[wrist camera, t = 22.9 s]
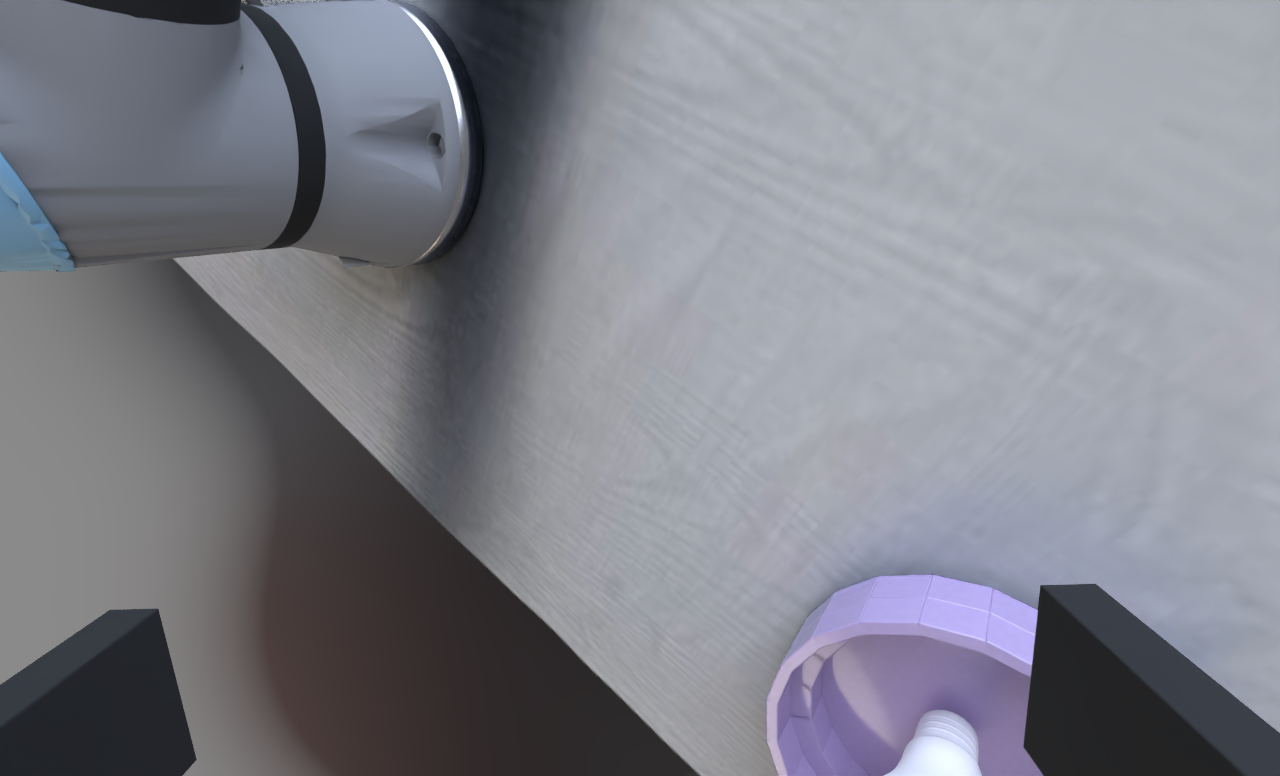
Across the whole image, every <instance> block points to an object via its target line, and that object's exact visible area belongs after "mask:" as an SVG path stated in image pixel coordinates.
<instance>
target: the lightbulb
mask: <svg viewBox="0 0 1280 776" xmlns="http://www.w3.org/2000/svg"><path fill="white" fill-rule="evenodd" d="M978 744H979V742H978V737H977V734H976V732H975V730H974V728H973V727H972V726H971V725H970V724H969V723H968V722H967V721H966V720H965V719H964V718H962V717H961V716H959V715H957V714H955V713H953V712H950V711H947V710H932V711H929V712H927V713H925V714H924V715H923V716H922V717H921V719H920V721H919V723H918V726H917V729H916V731H915V735H914V737H913V739H912V740H911V741H910V742H909V743H908V744H907V746H906V747H905V750H904V752H903V755H902V758H901V760H900V761H899V763H898V765H897V766H896V768H895V769H894V770H892V771H891V772H890V773H888V774H886V775H884V776H982V774H981V771H980V768H979V766H978V760H979V758H978V754H979V749H978Z"/></svg>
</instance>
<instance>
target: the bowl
mask: <svg viewBox="0 0 1280 776" xmlns="http://www.w3.org/2000/svg"><path fill="white" fill-rule="evenodd" d="M1037 614H1038V610H1037V609H1035V608H1033V607H1030V606H1028V605H1026V604H1024V603H1022V602H1020V601H1018V600H1016V599H1014V598H1012V597H1010V596H1008V595H1006V594H1004V593H1002V592H1000V591H998V590H996V589H992V588H990V587H986V586H982V585H977V584H973V583H968V582H964V581H959V580H955V579H951V578H946V577H942V576H937V575H932V574H925V575H897V576H879V577H878V576H877V577H874V578H872V579H869V580H866V581H863V582H860V583H858V584H855V585H852V586H849V587H847V588H844V589H841V590H838V591H836V592H835V593H833V594H832V595H831V596H830V597H829V598H828V599H827V600H826V601H825V602H823V603H822V604H821V605H820V606H819V607H818V608H817V609H816V610H814V611H813V612H812V613H811V614H810V615H809V616H808V617H807V618H806V620H805V621H804V623H803V625H802V627H801V629H800V630H799V632H798V634H797V636H796V638H795V639H794V641H793V643H792V645H791V647H790V648H789V650H788V652H787V654H786V656H785V657H784V659H783V661H782V663H781V665H780V667H779V670H778V672H777V674H776V676H775V679H774V681H773V683H772V686H771V688H770V690H769V693H768V695H767V699H766V739H767V743H768V746H769V749H770V752H771V755H772V758H773V761H774V764H775V767H776V770H777V773H778V776H884V775H886V774H888V773H890V772H891V771H892V770H894V769H895V768H896V766H897V765H898V763H899V761H900V760H901V758H902V755H903V752H904V750H905V747H906V746H907V744H908V743H909V742H910V741H911V740H912V739H913V737H914V735H915V731H916V729H917V726H918V723H919V721H920V719H921V717H922V716H923V715H924V714H925V713H927V712H929V711H932V710H947V711H950V712H953V713H955V714H957V715H959V716H961V717H962V718H964V719H965V720H966V721H967V722H968V723H969V724H970V725H971V726H972V727H973V728H974V730H975V732H976V734H977V737H978V742H979V744H978V749H979V754H978V758H979V760H978V766H979V768H980V771H981V774H982V776H1043V774H1042V773H1041V771H1040V770H1039V769H1038V767H1037V766H1036V764H1035V763H1034V761H1033V760H1032V759H1031V757H1030V756H1029V754H1028V753H1027V751H1026V750H1025V749H1024V747H1023V745H1024V735H1025V726H1026V717H1027V707H1028V698H1029V689H1030V679H1031V670H1032V661H1033V651H1034V642H1035V633H1036V624H1037Z"/></svg>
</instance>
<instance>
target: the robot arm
mask: <svg viewBox="0 0 1280 776" xmlns="http://www.w3.org/2000/svg"><path fill="white" fill-rule="evenodd" d="M246 2H247V3H248V4H245V3H241V0H0V271H38V270H56V271H59V272H71V271H75V268H77V267H86V266H98V265H108V264H118V263H128V262H138V261H149V260H159V259H169V258H179V257H190V256H200V255H210V254H220V253H230V252H241V251H251V250H263V249H274V248H284V247H296V248H301V249H306V250H311V251H316V252H320V253H325V254H330V255H335V256H338V257H339V258H340V260H341V261H342V263H343V264H344V266H345V267H346V268H349V267H357V266H365V265H373V266H378V267H384V268H397V267H404V266H412V265H419V264H424V263H427V262H430V261H432V260H435V259H437V258H438V257H440V256H441V255H443V254H444V253H445V252H447V251H448V250H449V249H450V248H451V247H452V246H453V245H454V244H455V242H456V241H457V240H458V239H459V237H460V236H461V234H462V233H463V231H464V229H465V228H466V226H467V224H468V222H469V220H470V217H471V215H472V213H473V210H474V207H475V204H476V200H477V196H478V192H479V188H480V182H481V175H482V164H483V140H482V128H481V120H480V114H479V109H478V104H477V100H476V96H475V92H474V89H473V86H472V83H471V80H470V77H469V75H468V72H467V70H466V67H465V65H464V63H463V61H462V59H461V57H460V55H459V53H458V52H457V50H456V48H455V47H454V45H453V43H452V42H451V40H450V39H449V38H448V36H447V35H446V33H445V32H444V31H443V30H442V29H441V28H440V27H439V25H438V24H437V23H436V22H435V21H434V20H432V19H431V18H430V17H429V16H428V15H427V14H425V13H424V12H422V11H421V10H420V9H418V8H416V7H414V6H412V5H410V4H407V3H405V2H402V1H398V0H326V1H324V2H310V3H290V4H281V5H273V6H265V7H264V6H263V4H262V3H261V2H260V0H246ZM1023 747H1024V749H1025V750H1026V751H1027V753H1028V754H1029V756H1030V757H1031V759H1032V760H1033V761H1034V763H1035V764H1036V766H1037V767H1038V769H1039V770H1040V771H1041V773H1042V774H1043V776H1280V733H1279V732H1277V731H1276V730H1275V729H1274V728H1272V727H1271V726H1270V725H1269V724H1268V723H1266V722H1265V721H1264V720H1263V719H1261V718H1260V717H1259V716H1258V715H1256V714H1255V713H1254V712H1253V711H1252V710H1250V709H1249V708H1248V707H1247V706H1245V705H1244V704H1243V703H1242V702H1240V701H1239V700H1238V699H1237V698H1235V697H1234V696H1233V695H1232V694H1231V693H1229V692H1228V691H1227V690H1226V689H1224V688H1223V687H1222V686H1221V685H1219V684H1218V683H1217V682H1216V681H1215V680H1213V679H1212V678H1211V677H1210V676H1208V675H1207V674H1206V673H1205V672H1203V671H1202V670H1201V669H1200V668H1198V667H1197V666H1196V665H1195V664H1194V663H1192V662H1191V661H1190V660H1189V659H1187V658H1186V657H1185V656H1184V655H1182V654H1181V653H1180V652H1179V651H1178V650H1176V649H1175V648H1174V647H1173V646H1171V645H1170V644H1169V643H1168V642H1166V641H1165V640H1164V639H1163V638H1161V637H1160V636H1159V635H1158V634H1157V633H1155V632H1154V631H1153V630H1152V629H1150V628H1149V627H1148V626H1147V625H1145V624H1144V623H1143V622H1142V621H1141V620H1139V619H1138V618H1137V617H1136V616H1134V615H1133V614H1132V613H1131V612H1129V611H1128V610H1127V609H1126V608H1124V607H1123V606H1122V605H1121V604H1120V603H1118V602H1117V601H1116V600H1115V599H1113V598H1112V597H1111V596H1110V595H1108V594H1107V593H1106V592H1105V591H1103V590H1102V589H1101V588H1100V587H1099V586H1097V585H1096V584H1079V585H1041V586H1040V596H1039V605H1038V614H1037V624H1036V633H1035V642H1034V651H1033V661H1032V670H1031V679H1030V689H1029V698H1028V707H1027V717H1026V726H1025V735H1024V745H1023ZM195 761H196V756H195V752H194V748H193V744H192V740H191V736H190V732H189V728H188V724H187V721H186V717H185V712H184V709H183V705H182V701H181V697H180V693H179V689H178V685H177V681H176V677H175V673H174V669H173V665H172V661H171V658H170V654H169V650H168V646H167V642H166V638H165V634H164V630H163V627H162V622H161V618H160V615H159V610H158V609H131V610H109V611H108V612H106V613H105V614H103V615H102V616H101V617H99V618H98V619H96V620H95V621H93V622H92V623H90V624H89V625H87V626H86V627H84V628H83V629H81V630H80V631H78V632H77V633H76V634H74V635H73V636H71V637H70V638H68V639H67V640H66V641H64V642H63V643H61V644H60V645H58V646H57V647H55V648H54V649H52V650H51V651H49V652H48V653H46V654H45V655H43V656H42V657H40V658H39V659H37V660H36V661H35V662H33V663H32V664H30V665H29V666H27V667H26V668H24V669H23V670H21V671H20V672H18V673H17V674H16V675H14V676H13V677H11V678H10V679H8V680H7V681H5V682H4V683H2V684H1V685H0V776H182V775H183V774H184V773H185V772H186V771H187V770H188V769H189V767H190V766H191V765H192V764H193V763H194V762H195Z"/></svg>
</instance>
